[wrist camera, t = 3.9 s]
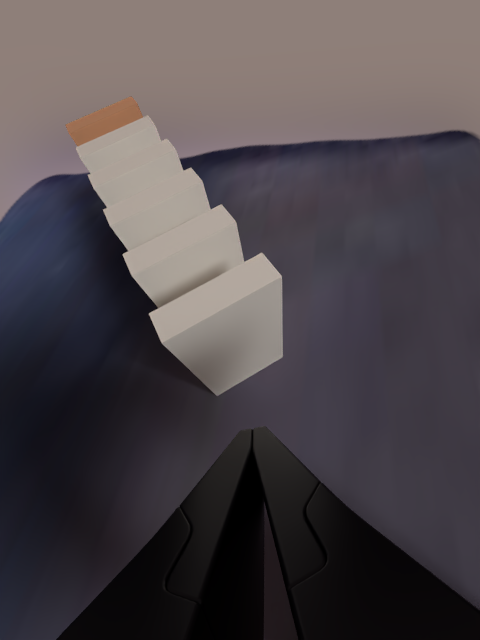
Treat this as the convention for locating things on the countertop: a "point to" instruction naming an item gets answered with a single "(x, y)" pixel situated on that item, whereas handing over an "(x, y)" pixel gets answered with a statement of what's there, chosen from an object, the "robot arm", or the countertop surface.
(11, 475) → the countertop surface
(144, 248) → the domino
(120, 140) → the domino
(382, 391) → the countertop surface
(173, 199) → the domino
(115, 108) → the domino
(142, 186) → the domino
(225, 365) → the domino
